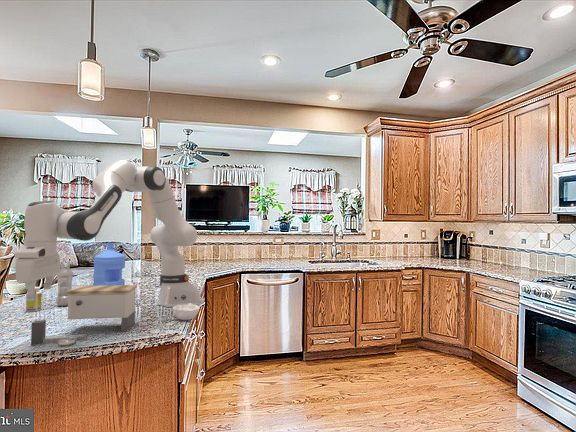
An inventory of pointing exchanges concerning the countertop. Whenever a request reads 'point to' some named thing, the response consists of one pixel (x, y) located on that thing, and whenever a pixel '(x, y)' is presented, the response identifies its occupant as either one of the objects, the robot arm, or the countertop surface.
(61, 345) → the steel token
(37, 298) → the supplement bottle
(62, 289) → the plastic bottle
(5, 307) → the countertop surface
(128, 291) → the low cabinet
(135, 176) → the robot arm
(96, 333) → the countertop surface
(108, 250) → the water jug
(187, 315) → the bowl of rice
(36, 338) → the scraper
